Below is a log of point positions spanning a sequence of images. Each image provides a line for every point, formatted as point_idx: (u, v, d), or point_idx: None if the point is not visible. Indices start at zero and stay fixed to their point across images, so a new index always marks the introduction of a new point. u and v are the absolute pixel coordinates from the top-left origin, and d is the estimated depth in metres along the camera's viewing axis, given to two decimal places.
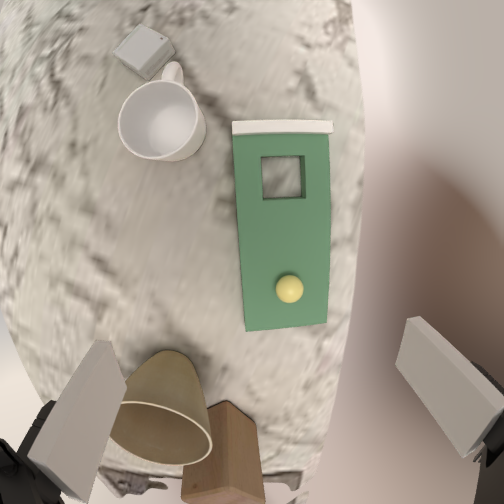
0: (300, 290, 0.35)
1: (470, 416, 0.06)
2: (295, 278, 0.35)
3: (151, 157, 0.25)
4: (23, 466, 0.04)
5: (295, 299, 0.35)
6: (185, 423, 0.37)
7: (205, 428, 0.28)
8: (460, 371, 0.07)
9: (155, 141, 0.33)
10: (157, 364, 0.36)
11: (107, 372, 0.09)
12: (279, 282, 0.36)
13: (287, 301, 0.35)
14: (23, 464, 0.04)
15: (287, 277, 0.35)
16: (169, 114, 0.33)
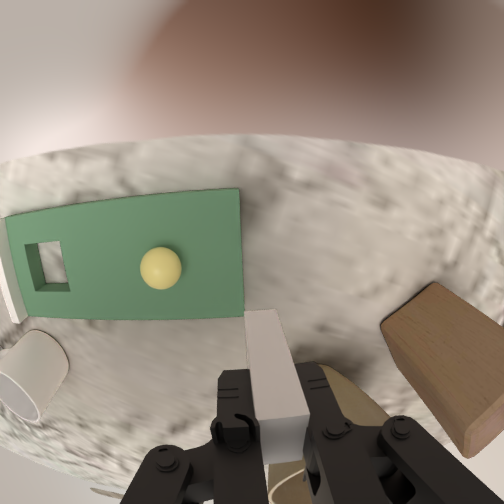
0: (152, 260, 0.21)
1: None
2: None
3: (36, 408, 0.20)
4: (259, 443, 0.06)
5: (165, 268, 0.22)
6: None
7: None
8: (272, 366, 0.09)
9: None
10: None
11: None
12: None
13: (171, 279, 0.22)
14: (259, 441, 0.06)
15: None
16: None
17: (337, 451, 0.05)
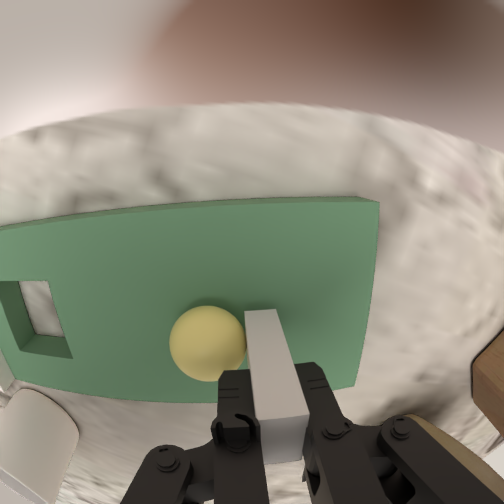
0: (176, 331, 0.12)
1: None
2: None
3: (47, 503, 0.10)
4: (259, 443, 0.06)
5: (188, 357, 0.11)
6: None
7: None
8: (272, 366, 0.09)
9: None
10: None
11: None
12: None
13: (200, 375, 0.11)
14: (259, 441, 0.06)
15: None
16: None
17: (336, 451, 0.05)
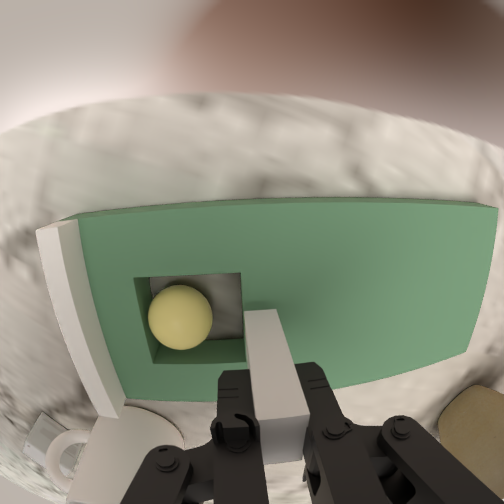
0: (153, 299, 0.15)
1: None
2: None
3: None
4: (258, 443, 0.06)
5: (151, 320, 0.14)
6: None
7: None
8: (272, 366, 0.09)
9: None
10: None
11: None
12: None
13: (158, 338, 0.14)
14: (259, 441, 0.06)
15: None
16: None
17: (337, 451, 0.05)
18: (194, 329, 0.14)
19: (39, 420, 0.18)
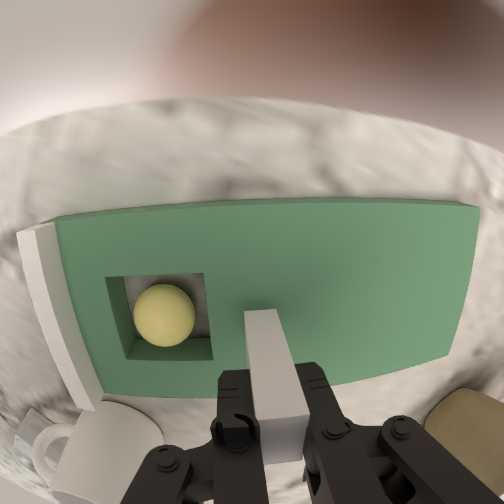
0: (137, 302, 0.14)
1: None
2: None
3: None
4: (258, 443, 0.06)
5: (144, 322, 0.14)
6: None
7: None
8: (272, 366, 0.09)
9: None
10: None
11: None
12: None
13: (154, 338, 0.14)
14: (259, 441, 0.06)
15: None
16: None
17: (337, 451, 0.05)
18: (188, 320, 0.15)
19: (28, 415, 0.18)
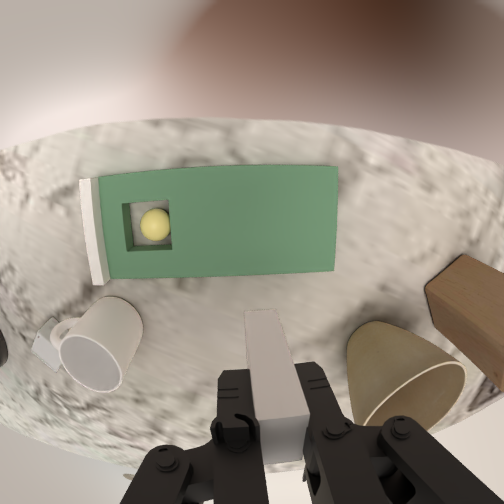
0: (145, 216, 0.29)
1: None
2: None
3: (120, 373, 0.26)
4: (258, 443, 0.06)
5: (151, 223, 0.28)
6: None
7: (420, 370, 0.22)
8: (272, 366, 0.09)
9: None
10: (348, 373, 0.32)
11: None
12: None
13: (156, 232, 0.29)
14: (259, 441, 0.06)
15: None
16: None
17: (337, 451, 0.05)
18: None
19: (49, 321, 0.33)
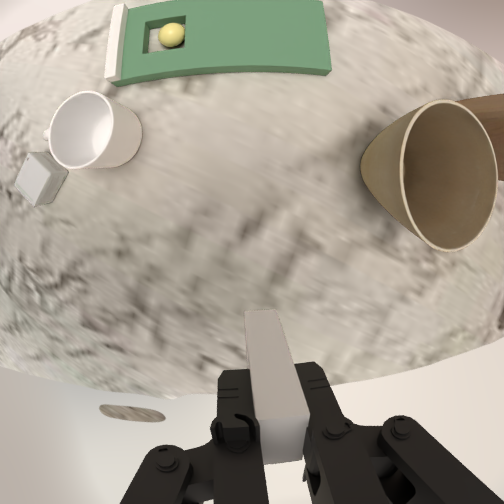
0: None
1: None
2: None
3: (111, 127, 0.22)
4: (258, 443, 0.06)
5: (169, 26, 0.25)
6: (447, 158, 0.27)
7: None
8: (272, 367, 0.09)
9: None
10: (367, 166, 0.29)
11: None
12: (163, 44, 0.27)
13: (172, 32, 0.25)
14: (259, 441, 0.06)
15: None
16: (98, 145, 0.32)
17: (337, 451, 0.05)
18: None
19: (43, 152, 0.30)
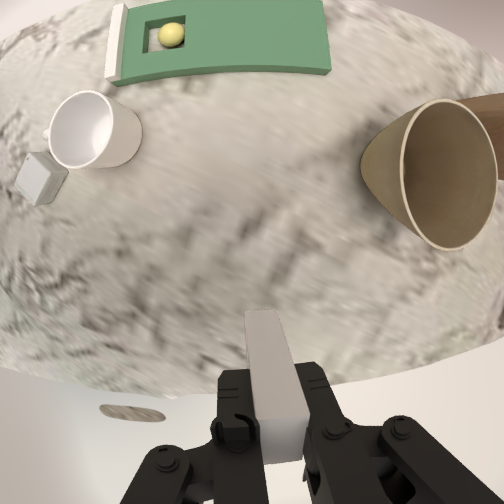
0: None
1: None
2: None
3: (111, 127, 0.22)
4: (258, 443, 0.06)
5: (169, 26, 0.25)
6: (447, 157, 0.27)
7: None
8: (272, 366, 0.09)
9: None
10: (367, 165, 0.29)
11: None
12: (163, 44, 0.27)
13: (171, 32, 0.25)
14: (259, 441, 0.06)
15: None
16: (98, 145, 0.32)
17: (337, 451, 0.05)
18: (184, 31, 0.27)
19: (43, 152, 0.30)
